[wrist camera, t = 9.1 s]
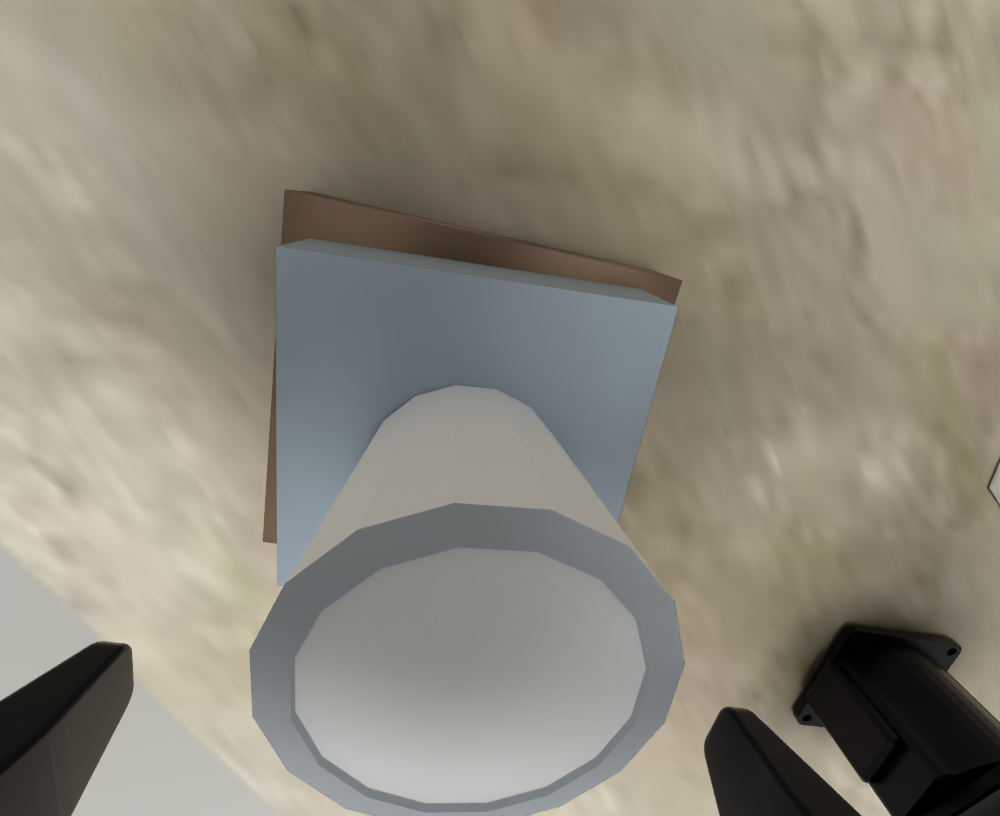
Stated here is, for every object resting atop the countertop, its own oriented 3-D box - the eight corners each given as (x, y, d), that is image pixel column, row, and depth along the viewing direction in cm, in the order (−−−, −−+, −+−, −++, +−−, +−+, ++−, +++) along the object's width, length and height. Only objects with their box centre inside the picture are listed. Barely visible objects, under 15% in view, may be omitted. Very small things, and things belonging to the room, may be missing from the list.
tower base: (649, 269, 19) (682, 280, 16) (564, 537, 23) (578, 583, 20) (314, 192, 17) (284, 189, 14) (289, 497, 21) (262, 541, 18)
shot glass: (374, 328, 13) (292, 449, 6) (620, 403, 14) (766, 569, 7) (316, 549, 15) (210, 812, 8) (534, 596, 16) (590, 855, 10)
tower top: (640, 288, 16) (678, 306, 13) (574, 550, 19) (593, 608, 17) (311, 238, 15) (275, 246, 12) (305, 527, 18) (277, 585, 15)
